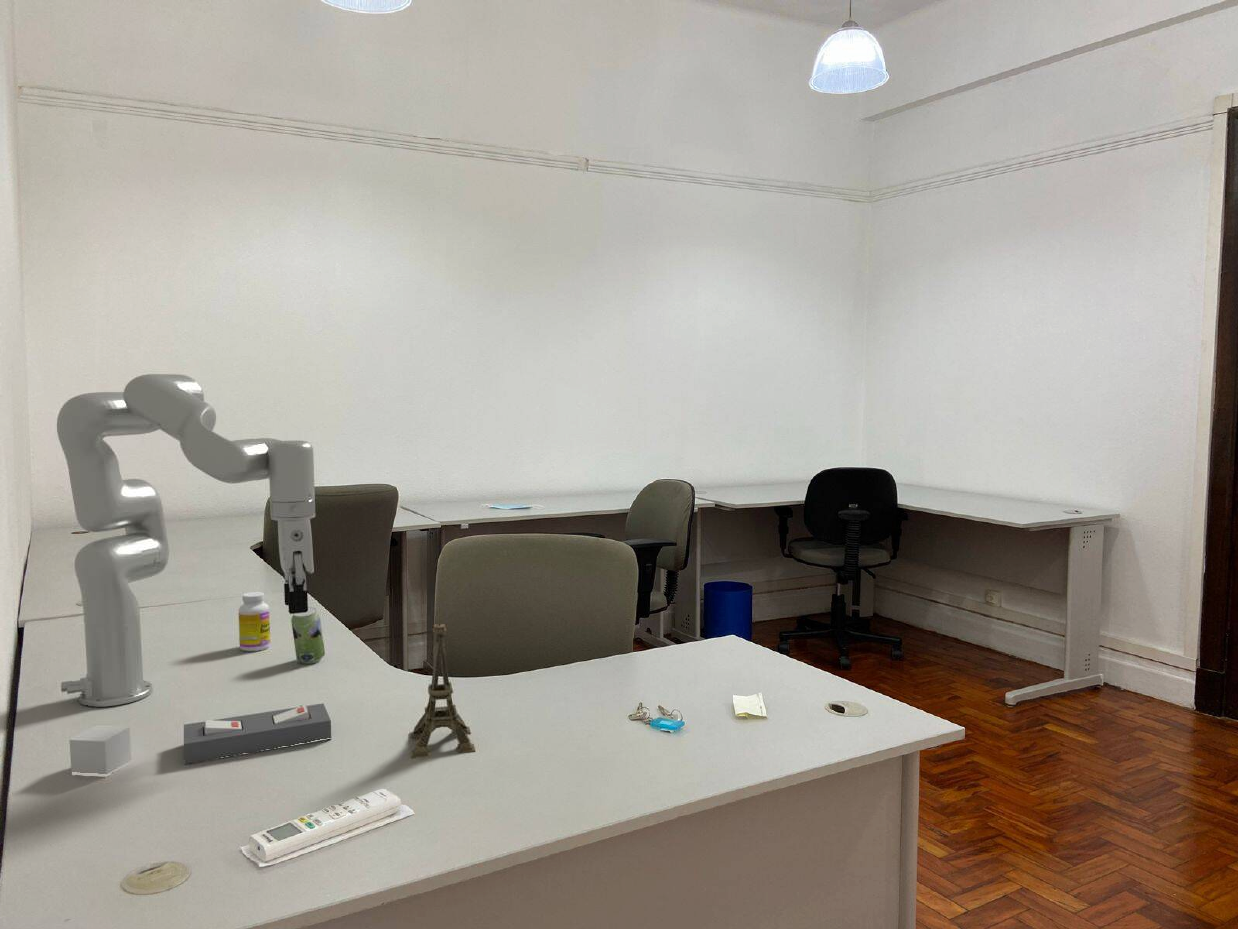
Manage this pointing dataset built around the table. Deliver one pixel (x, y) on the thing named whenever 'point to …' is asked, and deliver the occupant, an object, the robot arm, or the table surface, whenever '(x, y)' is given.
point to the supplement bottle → (254, 623)
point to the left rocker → (221, 726)
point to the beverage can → (308, 636)
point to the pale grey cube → (100, 749)
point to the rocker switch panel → (255, 734)
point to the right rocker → (292, 715)
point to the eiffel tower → (440, 715)
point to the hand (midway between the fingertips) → (296, 607)
